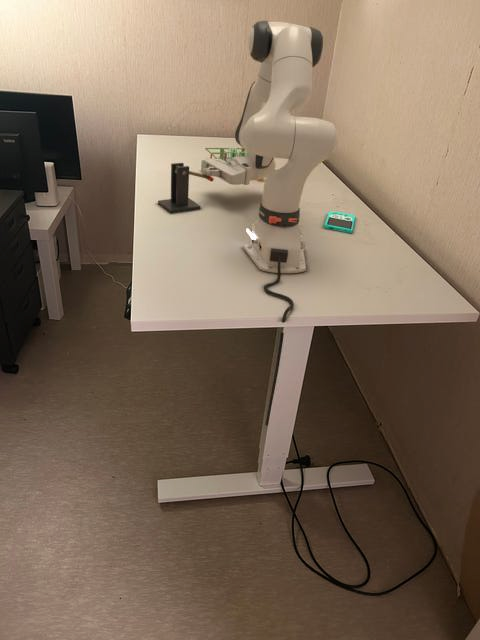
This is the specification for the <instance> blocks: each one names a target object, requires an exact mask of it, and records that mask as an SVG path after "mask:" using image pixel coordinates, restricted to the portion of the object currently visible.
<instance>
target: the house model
mask: <svg viewBox="0 0 480 640" xmlns="http://www.w3.org/2000/svg"><path fill="white" fill-rule="evenodd" d="M205 150H206V151H207V152H208V153H209V154H210V158H209V159H222V160H224V161H226V162H228V161H229V159H230V158H232V157H243V156H246V155H247V153H248V152H247V151H246V150H245V149H244V148H243V147H235V148H233V147H205ZM210 150H220V151H219V152H211V151H210ZM225 150H230V151H225ZM237 150H240V151H237ZM216 155H219V158H218V157H217V156H216ZM203 160H204V159H201V167H200V169H201V170H200V171H201V172H202V173H203ZM257 180H258V181H265V178H263V179H257Z"/></svg>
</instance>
